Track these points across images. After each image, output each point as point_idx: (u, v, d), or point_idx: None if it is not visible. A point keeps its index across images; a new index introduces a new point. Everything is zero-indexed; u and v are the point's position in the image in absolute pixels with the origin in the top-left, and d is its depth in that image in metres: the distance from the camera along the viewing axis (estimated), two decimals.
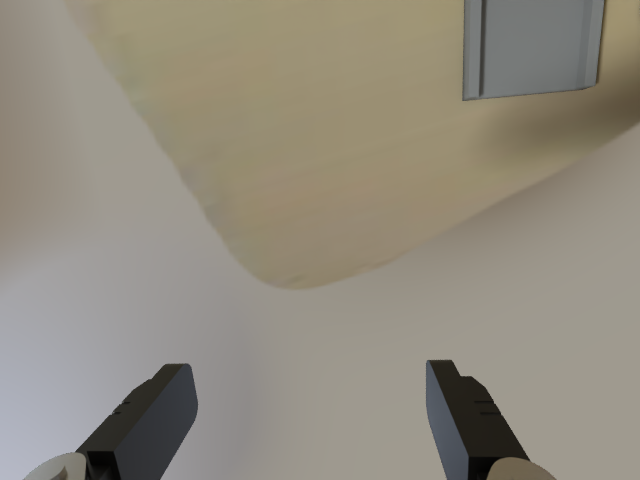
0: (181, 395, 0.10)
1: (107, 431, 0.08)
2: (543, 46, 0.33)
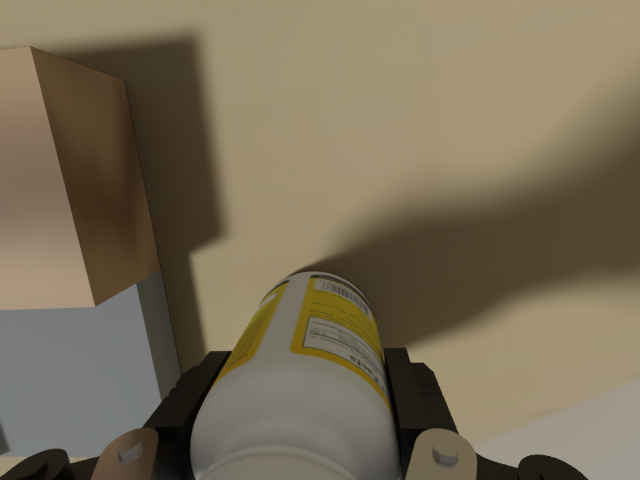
0: None
1: (170, 410, 0.09)
2: (89, 386, 0.16)
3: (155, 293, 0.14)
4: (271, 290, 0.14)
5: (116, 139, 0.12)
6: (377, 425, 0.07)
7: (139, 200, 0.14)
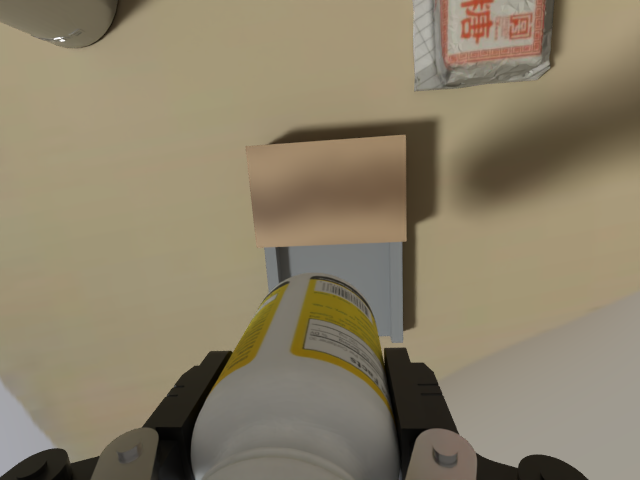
0: None
1: (170, 410, 0.09)
2: None
3: None
4: (271, 291, 0.14)
5: None
6: (378, 428, 0.07)
7: None
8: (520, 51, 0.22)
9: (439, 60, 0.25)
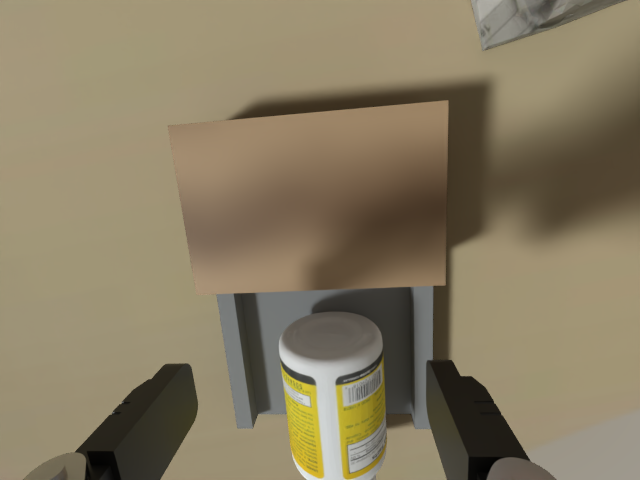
0: (181, 395, 0.10)
1: (107, 431, 0.08)
2: None
3: None
4: (298, 376, 0.15)
5: None
6: (381, 465, 0.17)
7: None
8: None
9: None
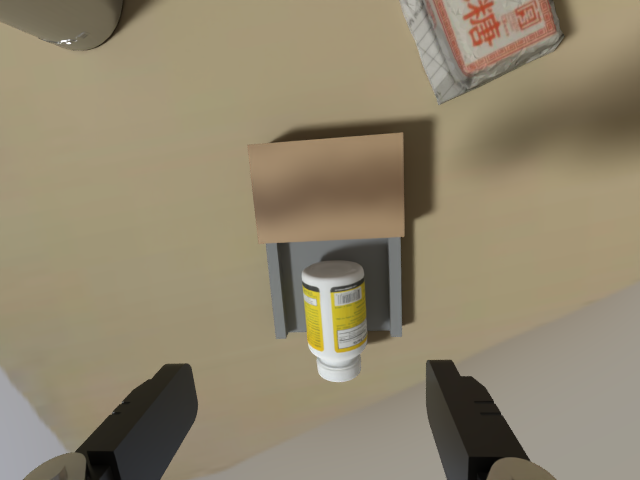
0: (181, 395, 0.10)
1: (107, 431, 0.08)
2: None
3: None
4: (310, 288, 0.26)
5: None
6: None
7: None
8: (535, 36, 0.22)
9: (454, 70, 0.26)
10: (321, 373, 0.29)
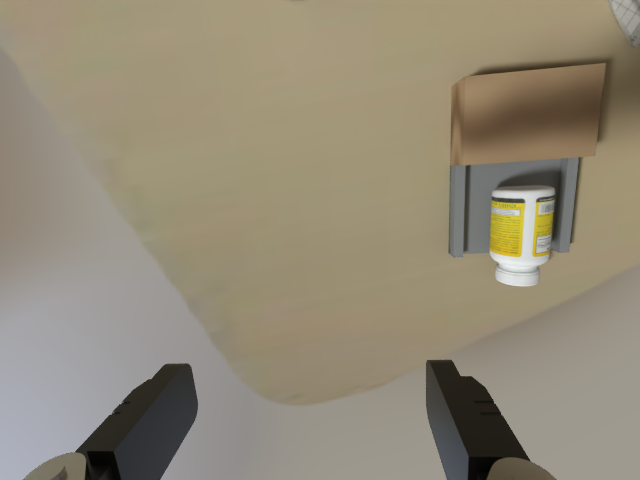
0: (181, 395, 0.10)
1: (107, 431, 0.08)
2: None
3: None
4: (513, 200, 0.31)
5: None
6: None
7: None
8: None
9: None
10: (507, 280, 0.33)
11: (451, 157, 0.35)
